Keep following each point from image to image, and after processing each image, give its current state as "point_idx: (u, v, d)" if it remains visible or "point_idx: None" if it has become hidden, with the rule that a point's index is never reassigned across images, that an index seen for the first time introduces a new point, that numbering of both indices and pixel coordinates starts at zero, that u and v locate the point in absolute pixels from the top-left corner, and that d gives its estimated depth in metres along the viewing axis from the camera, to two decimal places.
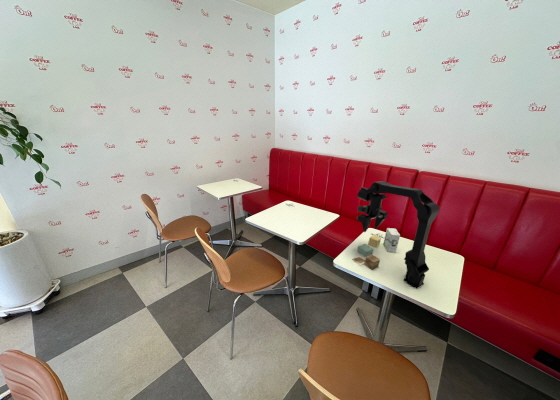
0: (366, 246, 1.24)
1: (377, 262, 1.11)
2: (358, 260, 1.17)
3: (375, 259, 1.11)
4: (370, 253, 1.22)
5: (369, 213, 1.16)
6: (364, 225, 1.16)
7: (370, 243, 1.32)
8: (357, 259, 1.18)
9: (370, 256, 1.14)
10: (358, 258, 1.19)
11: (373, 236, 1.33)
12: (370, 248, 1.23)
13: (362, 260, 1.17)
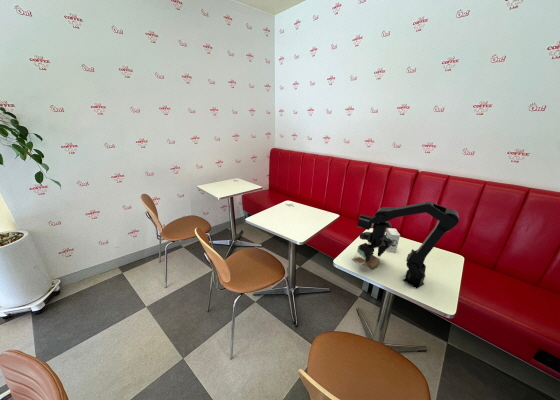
0: None
1: (377, 262, 1.11)
2: (358, 260, 1.17)
3: (375, 259, 1.11)
4: None
5: (372, 242, 1.07)
6: (367, 254, 1.08)
7: (370, 243, 1.32)
8: (357, 259, 1.18)
9: None
10: (358, 258, 1.19)
11: None
12: None
13: (362, 260, 1.17)
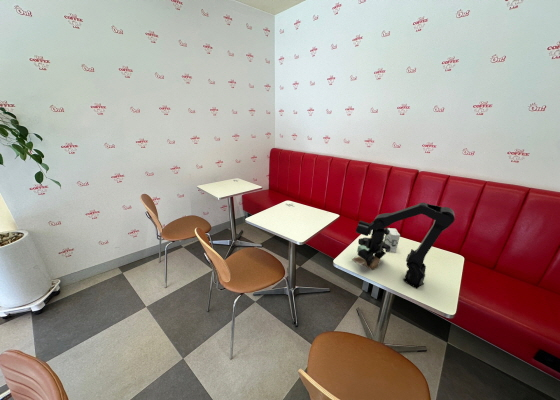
0: None
1: (377, 262, 1.11)
2: (358, 260, 1.17)
3: (375, 259, 1.11)
4: None
5: (370, 248, 1.09)
6: (368, 259, 1.10)
7: None
8: (357, 259, 1.18)
9: None
10: (358, 258, 1.19)
11: None
12: None
13: (362, 260, 1.17)
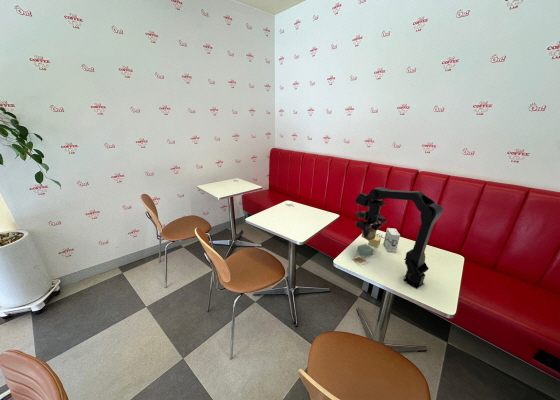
0: (366, 246, 1.24)
1: (374, 233, 1.17)
2: (358, 260, 1.17)
3: (372, 231, 1.17)
4: (370, 253, 1.22)
5: (368, 219, 1.15)
6: (365, 230, 1.16)
7: (370, 243, 1.32)
8: (357, 259, 1.18)
9: None
10: (358, 258, 1.19)
11: None
12: (370, 248, 1.22)
13: (362, 260, 1.17)
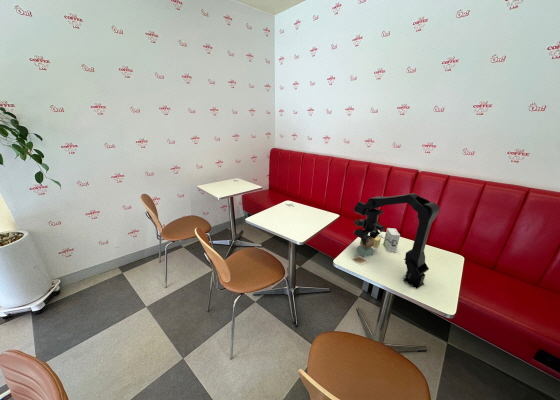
0: None
1: (372, 241, 1.20)
2: (358, 260, 1.17)
3: (370, 238, 1.20)
4: (370, 253, 1.22)
5: (366, 227, 1.18)
6: (363, 238, 1.19)
7: None
8: (357, 259, 1.18)
9: None
10: (358, 258, 1.19)
11: None
12: (370, 248, 1.22)
13: (362, 260, 1.17)
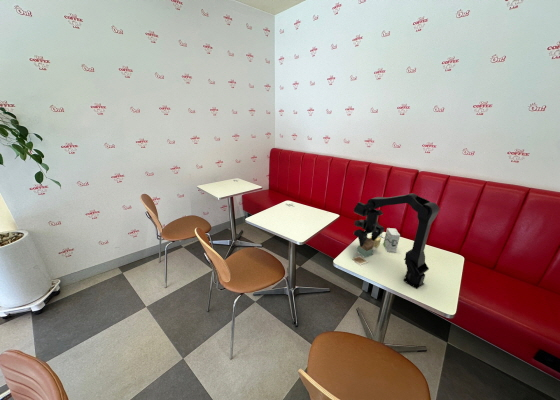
0: None
1: (372, 244, 1.20)
2: (358, 260, 1.17)
3: (370, 241, 1.20)
4: (370, 253, 1.22)
5: (365, 228, 1.18)
6: (361, 240, 1.18)
7: None
8: (357, 259, 1.18)
9: None
10: (358, 258, 1.19)
11: None
12: None
13: (362, 260, 1.17)
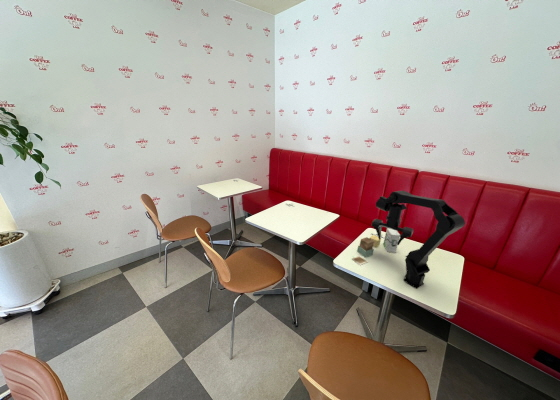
0: None
1: (371, 244, 1.20)
2: (358, 260, 1.17)
3: (370, 241, 1.20)
4: (370, 253, 1.22)
5: None
6: None
7: None
8: (357, 259, 1.18)
9: (365, 238, 1.23)
10: (358, 258, 1.19)
11: (373, 236, 1.33)
12: None
13: (362, 260, 1.17)
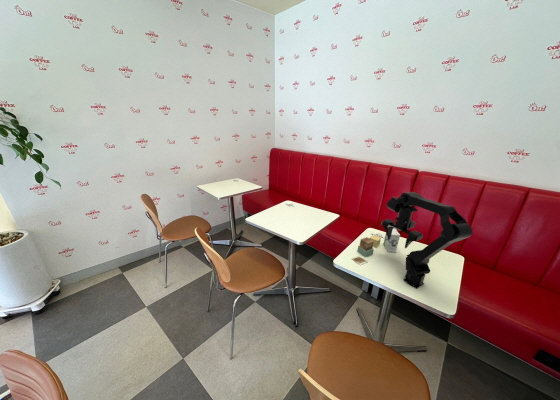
0: None
1: (371, 243, 1.20)
2: (358, 260, 1.17)
3: (369, 241, 1.20)
4: (370, 253, 1.22)
5: None
6: None
7: None
8: (357, 259, 1.18)
9: (365, 238, 1.23)
10: (358, 258, 1.19)
11: (373, 236, 1.33)
12: None
13: (362, 260, 1.17)
